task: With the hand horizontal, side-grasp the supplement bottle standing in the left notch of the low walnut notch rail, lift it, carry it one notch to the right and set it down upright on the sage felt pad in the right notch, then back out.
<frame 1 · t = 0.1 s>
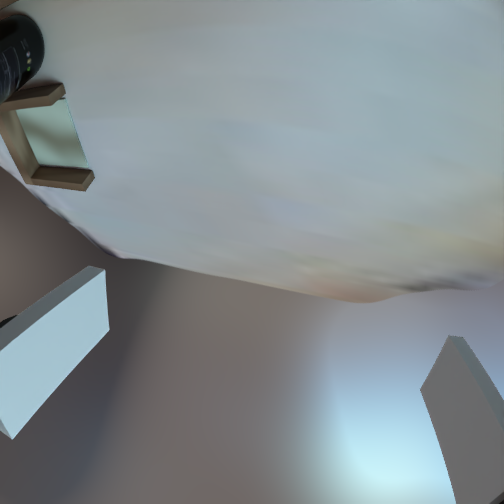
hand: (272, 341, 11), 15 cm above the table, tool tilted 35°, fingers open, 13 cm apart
notch rail: (31, 93, 20), on the table
supplement bottle: (23, 45, 16), on the table
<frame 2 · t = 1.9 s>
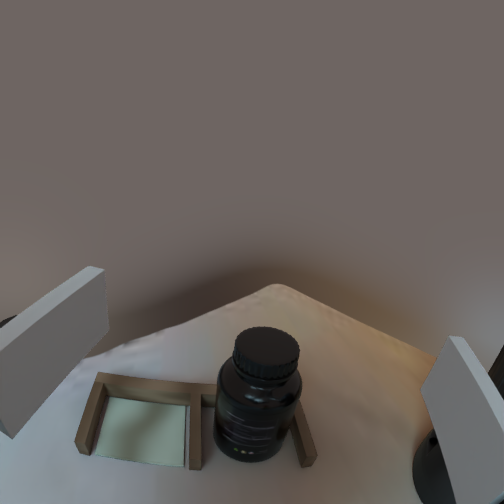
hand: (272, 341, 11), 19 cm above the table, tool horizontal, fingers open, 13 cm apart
notch rail: (194, 432, 26), on the table
supplement bottle: (247, 438, 27), on the table
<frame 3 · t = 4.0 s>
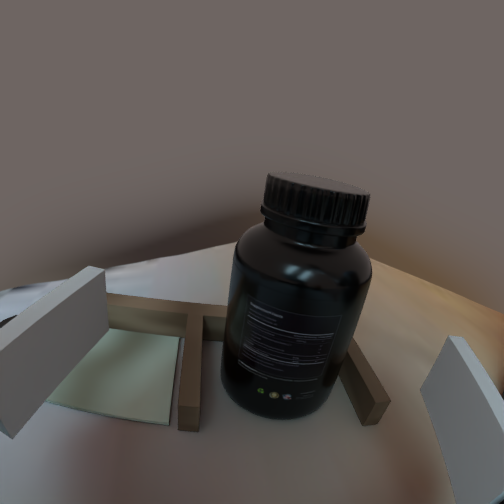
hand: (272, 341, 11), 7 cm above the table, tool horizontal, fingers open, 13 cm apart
notch rail: (191, 372, 18), on the table
supplement bottle: (273, 385, 18), on the table
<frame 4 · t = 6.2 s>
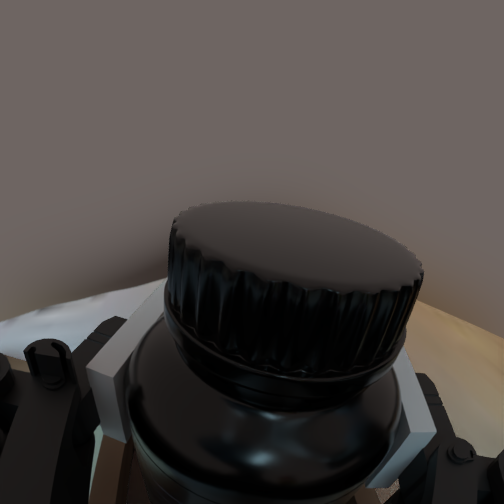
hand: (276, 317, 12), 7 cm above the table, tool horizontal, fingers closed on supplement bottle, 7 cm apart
notch rail: (116, 486, 10), on the table
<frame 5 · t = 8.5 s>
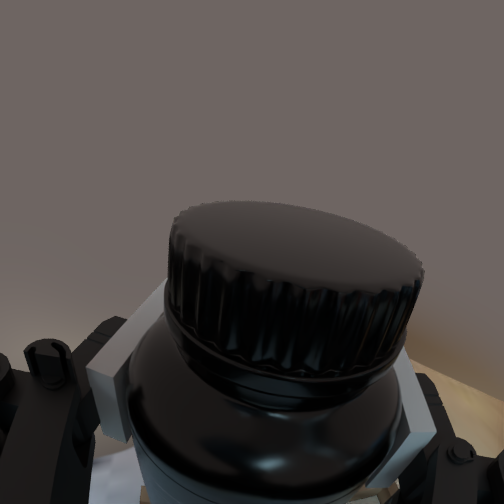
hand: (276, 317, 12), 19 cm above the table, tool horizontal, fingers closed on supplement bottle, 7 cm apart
when the fingers open (8 cm above the table, at t = 10.9 s): supplement bottle stays where it is, resting on notch rail.
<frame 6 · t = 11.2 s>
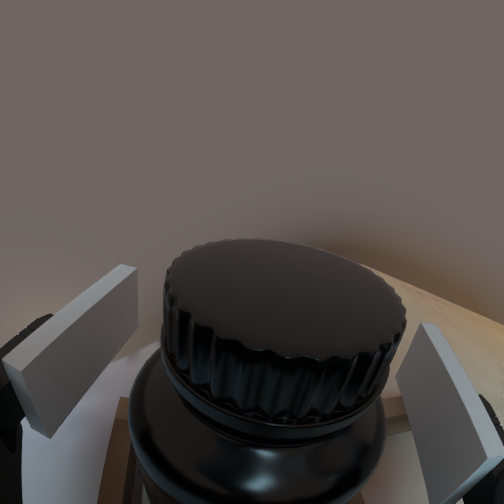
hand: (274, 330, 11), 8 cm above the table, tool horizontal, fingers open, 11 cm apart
notch rail: (330, 496, 12), on the table
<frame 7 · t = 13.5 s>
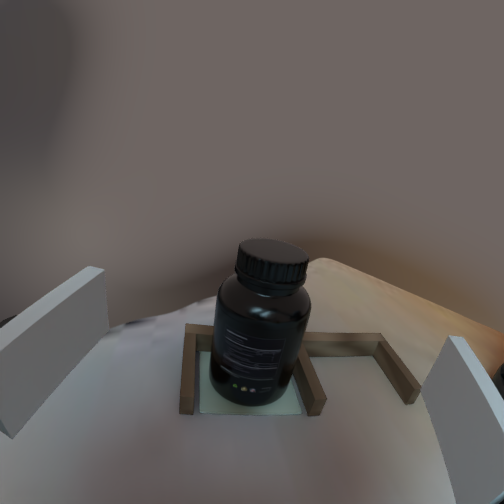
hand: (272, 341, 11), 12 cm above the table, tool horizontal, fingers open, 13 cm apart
notch rail: (300, 379, 27), on the table
supplement bottle: (246, 383, 25), resting on notch rail
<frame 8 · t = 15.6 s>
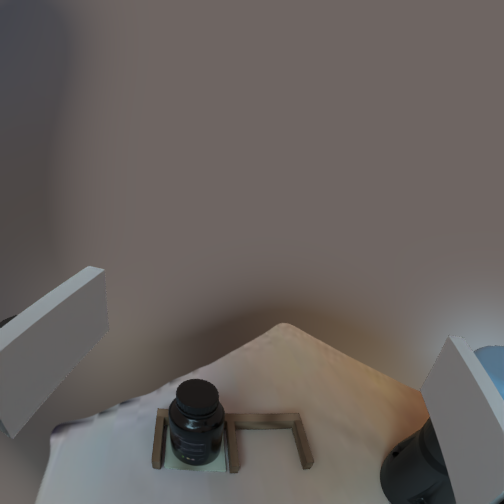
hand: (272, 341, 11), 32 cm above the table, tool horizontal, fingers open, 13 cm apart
notch rail: (231, 447, 38), on the table
supplement bottle: (195, 449, 36), resting on notch rail
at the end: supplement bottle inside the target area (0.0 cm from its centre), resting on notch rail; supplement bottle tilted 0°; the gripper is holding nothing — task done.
